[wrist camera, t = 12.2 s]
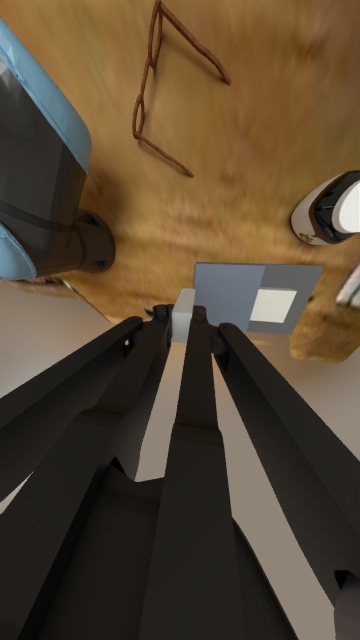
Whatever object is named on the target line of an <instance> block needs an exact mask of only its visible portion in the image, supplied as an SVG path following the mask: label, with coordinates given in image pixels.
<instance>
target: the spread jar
mask: <svg viewBox="0 0 360 640" xmlns="http://www.w3.org/2000/svg"><path fill="white" fill-rule="evenodd" d="M291 225H292V229H293V231H294V233H295V235H296V236H297V237H299V238H300V239H301V240H303V241H305V242H307V243H309V244H313V245H333V244H338V243H341V242H343V241H345V240H347V239H349V238H350V237H352V236H354V235H355V234H357V233H358V232H360V170H353V171H348V172H345V173H342V174H340V175H338V176H336V177H334V178H332V179H330V180H328V181H326V182H325V183H323V184H321V185H320V186H318V187H317V188H316V189H314V190H313V191H312V192H311V193H309V194H308V195H307V196H306V197H305V198H304V199H303V200H302V201H301V202H300V204H299V205H298V206H297V207H296V209H295V210H294V212H293V214H292V217H291Z"/></svg>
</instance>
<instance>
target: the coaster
mask: <svg viewBox="0 0 360 640" xmlns="http://www.w3.org/2000/svg"><path fill="white" fill-rule="evenodd" d="M296 293H297V291H295V290H293V289H287V288H268V287H259V290H258V294H257V297H256V300H255V304H254V307H253V311H252V314H251V317H250V320H254V321H266V322H278V323H283V322H284V320H285V317H286V315H287V313H288V311H289V308H290V306H291V304H292V302H293V299H294V297H295V295H296Z"/></svg>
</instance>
